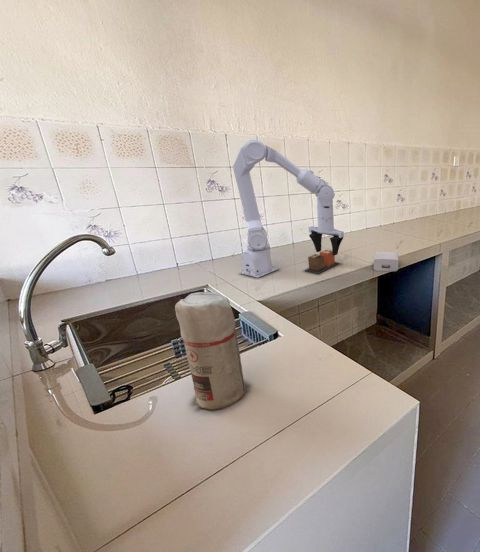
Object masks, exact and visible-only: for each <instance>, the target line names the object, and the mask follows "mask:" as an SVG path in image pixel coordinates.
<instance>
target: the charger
mask: <svg viewBox="0 0 480 552" xmlns="http://www.w3.org/2000/svg"><path fill="white" fill-rule="evenodd" d="M373 270H374V271H376V272H397V271H398V270H399V253H397V252H395V251H394V252H392V251H376V252H374V256H373Z"/></svg>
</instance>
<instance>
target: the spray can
mask: <svg viewBox="0 0 480 552" xmlns="http://www.w3.org/2000/svg"><path fill="white" fill-rule="evenodd" d="M174 310H175V317H176V319H177V321H178V324H179V329H180V337H181V339H182V341H183V345H184V349H185V354H186V358H187V362H188V367H189V370H190V375H191V381H192V382H193V389H194V393H195V397H196V398H195V404H196V405H197V406H198V407H199V408H200V409H201V408H202V409H206V410H219V409H222V408H226V407H229V406H231V405H233V404H234V403H236V402H237V401H238V400H240V399H241V398H243V397H244V396H245V394H246V391H247V386H246V384H245V379H244V372H243V366H242V362H241V361H242V359H241V353H240V348H239V342H238V335H237V329H236V319H235V316H234V312H233V309H232V305H231V301H230V300H229V297H227V296H225V295H221V294H220V293H218V292H214V291H213V292H211V291H208V292H207V291H206V292H205V291H203V292H202V291H198V292H193V293H190V294H188V295H187V296H186V297H185V298H181V299H180V300H179V301H177V303H175V305H174Z"/></svg>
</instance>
